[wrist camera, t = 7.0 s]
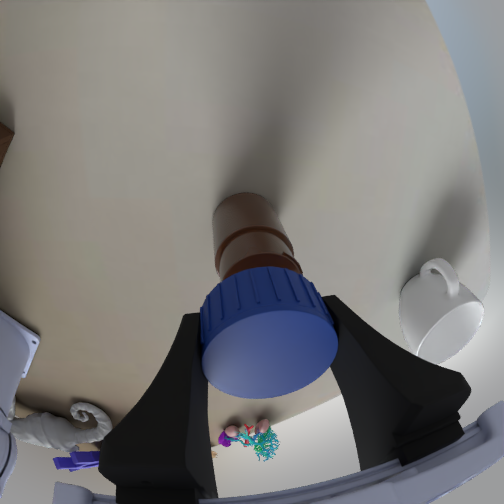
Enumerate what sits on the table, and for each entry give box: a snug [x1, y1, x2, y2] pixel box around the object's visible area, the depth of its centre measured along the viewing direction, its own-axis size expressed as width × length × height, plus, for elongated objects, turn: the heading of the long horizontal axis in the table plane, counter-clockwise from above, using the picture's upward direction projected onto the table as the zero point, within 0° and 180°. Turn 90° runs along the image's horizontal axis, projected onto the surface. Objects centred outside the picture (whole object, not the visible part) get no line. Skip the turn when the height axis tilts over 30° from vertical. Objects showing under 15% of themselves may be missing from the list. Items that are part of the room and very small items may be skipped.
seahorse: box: [7, 396, 113, 452], centre depth 30 cm, size 5×12×20 cm
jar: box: [213, 193, 303, 282], centre depth 18 cm, size 4×4×7 cm
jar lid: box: [200, 267, 338, 399], centre depth 12 cm, size 5×5×3 cm
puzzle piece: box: [53, 451, 100, 472], centre depth 33 cm, size 10×12×2 cm
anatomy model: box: [219, 419, 279, 461], centre depth 34 cm, size 5×8×7 cm
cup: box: [399, 258, 484, 365], centre depth 24 cm, size 8×10×7 cm
